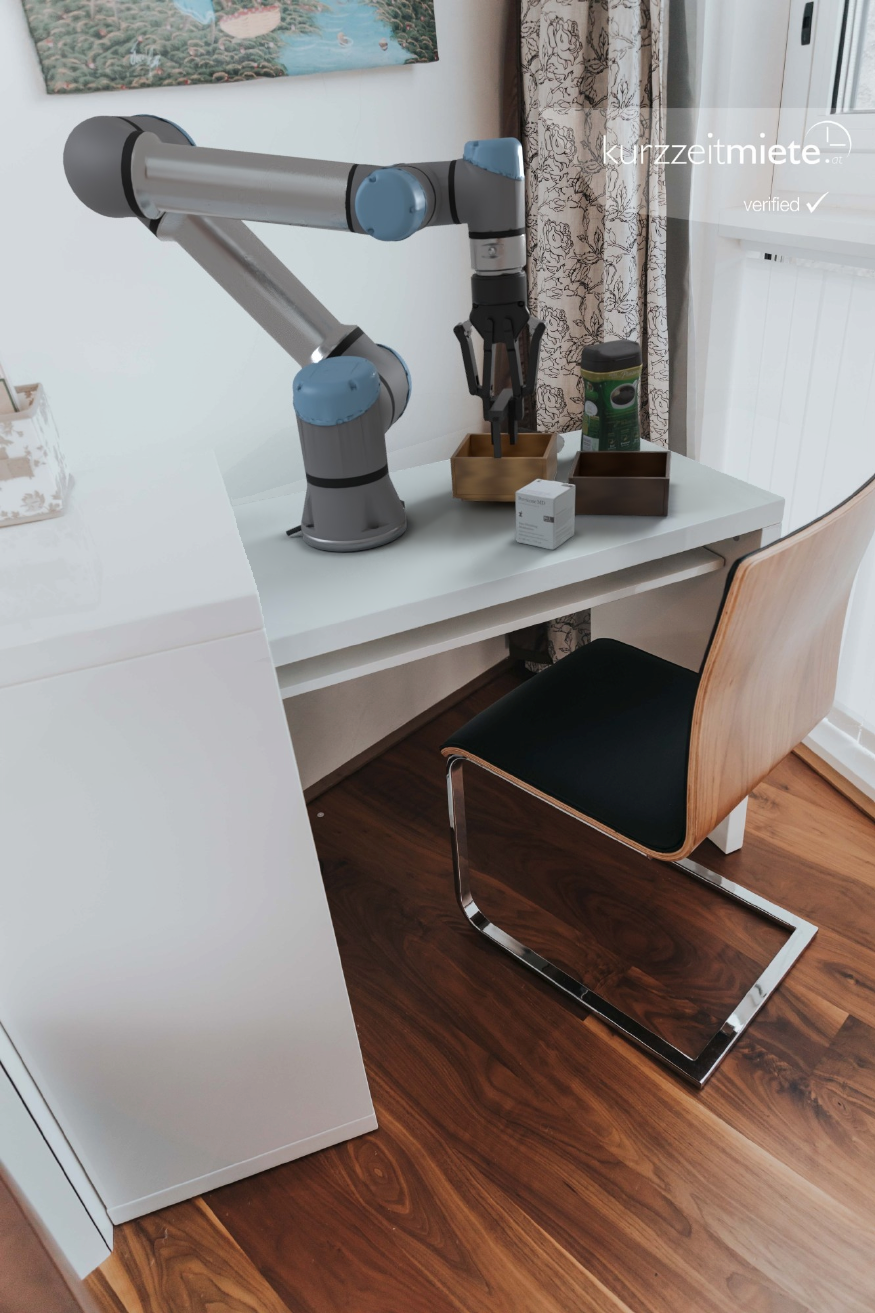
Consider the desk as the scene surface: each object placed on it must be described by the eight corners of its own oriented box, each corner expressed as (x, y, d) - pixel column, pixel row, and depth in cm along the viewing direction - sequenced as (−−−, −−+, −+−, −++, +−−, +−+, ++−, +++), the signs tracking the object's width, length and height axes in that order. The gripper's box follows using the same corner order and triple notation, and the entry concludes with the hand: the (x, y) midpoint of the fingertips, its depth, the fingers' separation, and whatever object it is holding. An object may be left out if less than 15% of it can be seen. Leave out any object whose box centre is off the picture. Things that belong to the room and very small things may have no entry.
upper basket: (453, 503, 131) (446, 411, 124) (469, 475, 141) (464, 389, 134) (547, 504, 128) (545, 410, 121) (557, 476, 138) (556, 387, 131)
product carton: (515, 543, 120) (513, 491, 117) (537, 527, 124) (536, 477, 121) (554, 550, 117) (554, 498, 113) (576, 534, 121) (576, 483, 118)
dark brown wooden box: (567, 514, 128) (567, 477, 125) (576, 485, 138) (576, 450, 135) (667, 516, 124) (669, 478, 122) (669, 486, 134) (671, 450, 132)
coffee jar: (619, 444, 153) (623, 333, 144) (647, 456, 147) (652, 340, 137) (572, 455, 150) (572, 342, 140) (597, 468, 144) (599, 350, 134)
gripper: (437, 277, 117) (449, 450, 129) (550, 272, 114) (552, 450, 126) (450, 269, 124) (460, 434, 136) (557, 263, 120) (558, 434, 132)
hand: (504, 441), depth 131 cm, fingers closed on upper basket, 2 cm apart
